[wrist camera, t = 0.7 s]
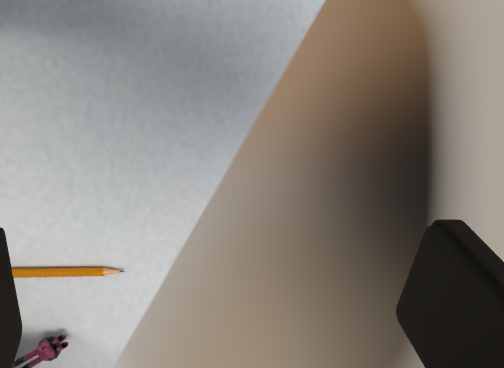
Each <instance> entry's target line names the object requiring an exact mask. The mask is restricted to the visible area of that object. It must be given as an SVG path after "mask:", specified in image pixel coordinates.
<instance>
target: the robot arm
mask: <svg viewBox="0 0 504 368" xmlns="http://www.w3.org/2000/svg"><path fill="white" fill-rule="evenodd" d="M396 314H397V319H398V321H399V323H400V325H401V327H402V329H403V330H404V332H405V334H406V335H407V337H408V339H409V340H410V342H411V344H412V346H413V347H414V349H415V351H416V353H417V354H418V356H419V358H420V359H421V361H422V362H423V364H424V366H425V368H504V262H503V261H502V260H501V259H500V258H499V257H498V256H497V255H496V254H495V253H494V252H493V251H492V250H491V249H490V248H489V247H488V246H487V245H486V244H485V243H484V242H483V241H482V240H481V239H480V238H479V237H478V236H477V235H476V234H475V233H474V231H472V230H471V228H470V227H468V225H466V223H464V222H463V221H462V220H436V221H434V222H433V224H432V225H431V226H429V227H427V229H426V230H425V232H424V235H423V238H422V240H421V243H420V246H419V249H418V251H417V254H416V256H415V259H414V262H413V265H412V267H411V270H410V272H409V275H408V278H407V280H406V283H405V286H404V288H403V291H402V294H401V296H400V299H399V302H398V304H397V308H396ZM21 335H22V321H21V316H20V311H19V306H18V300H17V295H16V290H15V284H14V279H13V274H12V268H11V263H10V258H9V252H8V247H7V242H6V236H5V232H4V230H3V228H0V368H12V365H13V362H14V359H15V356H16V353H17V350H18V347H19V344H20V340H21Z"/></svg>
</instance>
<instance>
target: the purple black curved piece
mask: <svg viewBox="0 0 504 368" xmlns="http://www.w3.org/2000/svg"><path fill="white" fill-rule="evenodd" d="M64 339H65V336H64V335H60V336H59V337H57V338H55V337H52V336H51V337H46V338H44V339H43V340H41V341H40V343H39V345H38V347H37V349H36V350H34V351H32V352H30V353H28V354H27V355H25V356H23V357H21V358H19V359H18V360H16V361H14V362H13V365H12V368H14V367H16V366H18V365H20V364H21V363H23V362H25V361H27V360H29V359H30V358H32V357H34V356H36V355H37V354H38V355H39V357H38V358H36V359H35V360H33V361H31V362H30V363H28V364H26V365H25V366H23V367H22V368H32V367H33V366H35V365H36V364H38V363H40V362H41V361H43V360H44V361H51V360H53V359H55V358H57V357H58V355H59V354H60V352H61V350H62V349H64V348H66V347H67V346H68V342H64V343H62V344H61V341H62V340H64Z"/></svg>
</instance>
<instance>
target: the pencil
mask: <svg viewBox="0 0 504 368" xmlns="http://www.w3.org/2000/svg"><path fill="white" fill-rule="evenodd" d="M118 272H124V271H121V270H115V269H110V268H105V267H85V268H15V269H12V274H13V278H14V277H70V276H105V275H109V274H114V273H118Z"/></svg>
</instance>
